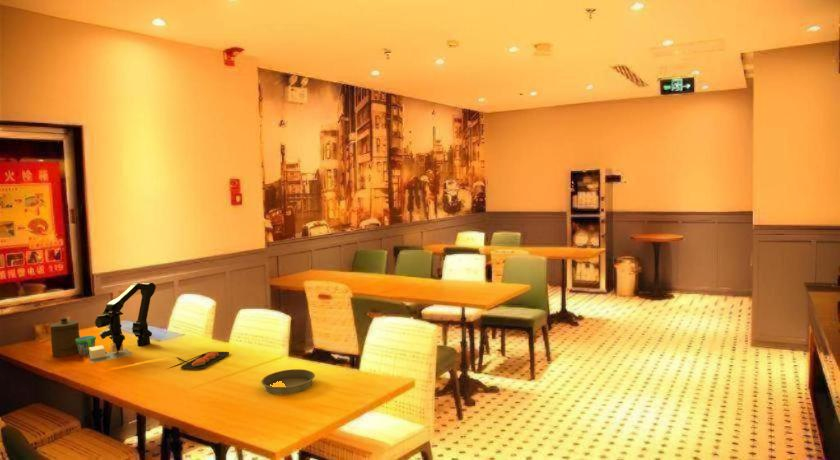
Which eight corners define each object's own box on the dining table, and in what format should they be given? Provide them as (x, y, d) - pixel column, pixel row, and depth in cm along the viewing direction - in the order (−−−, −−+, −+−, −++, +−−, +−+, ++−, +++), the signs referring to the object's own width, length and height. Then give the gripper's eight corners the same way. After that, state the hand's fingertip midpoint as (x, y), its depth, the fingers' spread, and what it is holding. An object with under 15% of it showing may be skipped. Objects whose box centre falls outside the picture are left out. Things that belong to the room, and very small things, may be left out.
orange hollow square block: (121, 348, 345) (121, 341, 344) (123, 350, 340) (122, 343, 340) (111, 350, 342) (110, 343, 341) (113, 352, 337) (112, 345, 337)
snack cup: (74, 353, 348) (72, 337, 347) (94, 350, 354) (92, 333, 353) (79, 359, 336) (77, 342, 335) (99, 355, 342) (98, 338, 341)
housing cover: (102, 353, 341) (102, 345, 340) (105, 357, 333) (104, 348, 333) (89, 356, 337) (88, 347, 336) (91, 359, 329) (90, 351, 328)
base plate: (127, 350, 350) (126, 345, 349) (133, 357, 335) (132, 351, 335) (87, 358, 337) (86, 352, 337) (91, 365, 323) (91, 359, 322)
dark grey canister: (86, 349, 357) (83, 313, 355) (69, 356, 343) (66, 319, 341) (64, 349, 359) (60, 314, 357) (46, 356, 344) (42, 320, 342)
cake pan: (252, 388, 275) (251, 379, 274) (297, 374, 292) (296, 365, 292) (279, 401, 257) (279, 391, 257) (325, 385, 274) (325, 376, 274)
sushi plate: (203, 372, 304) (202, 364, 304) (152, 370, 310) (151, 363, 310) (231, 355, 332) (231, 348, 332) (184, 354, 339) (184, 347, 338)
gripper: (97, 323, 342) (99, 349, 344) (102, 329, 327) (104, 356, 329) (118, 320, 349) (120, 345, 350) (123, 325, 334) (126, 352, 335)
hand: (117, 349), depth 341 cm, fingers closed on orange hollow square block, 5 cm apart
